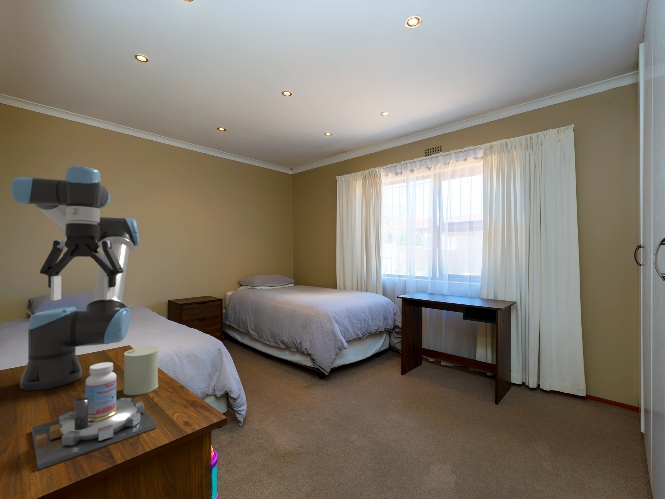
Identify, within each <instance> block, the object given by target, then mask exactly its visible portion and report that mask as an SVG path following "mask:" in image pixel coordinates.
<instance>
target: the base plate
mask: <svg viewBox="0 0 665 499" xmlns="http://www.w3.org/2000/svg"><path fill="white" fill-rule="evenodd" d="M131 402H133V403H138V400H136V398H131ZM149 414H150V413H148V412H147V411H146V410H145V409H144V412H143V413H140V421H139V422H138V423H137V424H136V425H134V426H126V427H124V428H123V429H121V430H119V431H116V432H114V433H113V437H110V438H107V439H104V440H100V441H99V440H98V438H95V439H90V440H83V441H79V442H77V443H76V444H75V445H62V438H61V437H57V438H54V439H51V440H50V426H54V425H57V424H59V419H57V420H54V421H50V422H46V423H43V424H38V425H35V426H32V427H31V435H32V440H33V441H32V442H33V448H34V455H35V459H36V460H35V461H36V467H37V471H39V470H42V469H45V468H47V467H50V466H54V465H55V464H59V463H62V462H64V461H68V460H70V459H73V458H77V457H79V456H81V455H84V454H87V453H90V452H92V451H93V452H94V451H96V450H98V449H100V448H104V447H107V446H109V445H112V444H114V443H119V442H121V441H124V440H126V439H130V438H132V437H135V436H138V435H141V434H143V433H146V432H149V431H152V430H155V429H157V428H158V424H157V422H156V421H155V420H154V418H152V417H151V415H149Z"/></svg>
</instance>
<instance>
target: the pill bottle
mask: <svg viewBox="0 0 665 499" xmlns="http://www.w3.org/2000/svg"><path fill="white" fill-rule="evenodd" d="M113 370H114V363H113V362H109V361H106V362H99V363H95V364H92V365H90V366H89V371H88V373H89V374H90V375H89V376H88V377H87V378H85V385H84V386H85V388H84V390H85V391H84V392H85V394H84V398H88V417H90V418H98V417H102V416H106V415H108V414H110V413H112V412H113V411H114V410H115V409H116V401H117V374H116V373H115V372H114V371H113Z"/></svg>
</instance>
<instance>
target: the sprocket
mask: <svg viewBox="0 0 665 499" xmlns="http://www.w3.org/2000/svg"><path fill="white" fill-rule="evenodd" d="M131 399H132V398H131V397H120V398H119V399H116V409H115V410H114V411H113V412H112V413H110V414H108V415H106V416H102V417H98V418H90V417H88V398H85V397H81V398H78V399H76V400H74V410H73V411H71V410H70V411H67V412H65V413H63V414H61V415H60V416H59V417H58V420H59V424H57V425H54V426H50V440H51V439H54V438H57V437H61V438H62V445H75V444H76V443H77V442H79V441H83V440H90V439H95V438H98V440H99V441H100V440H104V439H107V438H110V437H113V433H114V432H116V431H119V430H121V429H123V428H124V427H126V426H134V425H136V424H137V423H138V422H139V421H140V413H143V412H144V410H145V404H144V402H143V401H139V402H138V401H137V402H138V403H133V402H131Z"/></svg>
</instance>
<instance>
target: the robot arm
mask: <svg viewBox="0 0 665 499" xmlns="http://www.w3.org/2000/svg"><path fill="white" fill-rule="evenodd" d="M101 181H102V180H101V173H100V171H99V170H98V169H95V168H92V167H87V166H79V165H78V166H77V165H73V166H68V167H67V169H66V173H65V179H64V180H63V179H52V178H43V177H33V176H30V177H22V176H19V177H15V178H14V179H13V180H12V182H11V184H10V185H11V186H10V193H11V196H12V198H13V201H15V203H19V204H26V205H34V206H35V207H36V208H38V209H39V210H40V211H41V212H42V213H43V214H45V215H46V216H47V217H48V218H49V219H50V220H52V221H53V222H54V223H55V224H56V225H57V226H58V230H59V231H60V232H61V233H62V234H63V235H64V236H65V237H66V240H61V239H60V240H57V239H56V240H55V239H54V240H53V242H52V247H51V248H52V249H51V250H50V252H49V254H48V256H47V258H46V259H45V260H44V263H43V264H42V267H41V268H40V270H39V273H40V274H41V275H45V276H47V283H48V284H47V286H48V289H50V301H58V300H61V299H62V275H60V273H61V272H62V271H63V270H64V269H65V267H66V266H68V264H70V262H71V261H72V260H73V259H75V258H76V257H77V258H79V257H83V258H85V257H86V258H87V257H90V258H91V259H93V261H95V263H96V264H97V265H98V266H99V271H98V274H97V280H96V286H95V290H94V296H93V300H91V301H90V302H88V304H86V309H85V310H77V307H76V306H66V307H60V308H54V309H53V308H52V309H47V310H44V311H40V312H36V313H34V314H32V315H31V316H30V317H29V320H28V328H27V331H28V332H27V333H28V339H27V340H28V341H27V342H28V344H27V346H28V349H27V351H28V352H27V354H28V355H27V357H28V358H27V363H26V366H25V367H24V370H23V373H22V375H21V378H20V383H19V387H20V390H23V391H43V390H48V389H53V388H57V387H62V386H65V385H67V384H72V383H73V382H75V381H77V380H79V379H81V378H82V375H83V369H82V366H81V363H80V362H79V359H78V357H77V354H76V348H77V347H87V346H99V345H111V344H117V343H120V342H122V341H124V339H125V338H126V336H127V335H128V334H127V333H128V332H129V328H130V323H131V310H130V308H127V304H126V303H125V302H124V301H123V297H124V290H125V282H126V277H127V276H126V274H127V269H128V268H127V267H128V261H129V254H130V253H132V252H133V251H134V248H135V247H137V246H140V238H139V237H140V236H139V228H138V223H137V221H136V219H134V218H129V217H124V216H123V217H110V216H109V217H105V216H101V215H100V214H101V212H100V211H101V209H102V208H104V207H106V206H107V205H109V203H110V202H111V195H110V192H109V190H108V189H107V187H106V186H104V185H103V184H101ZM65 248H67V250H65V252H64V253H63V251H64V249H65ZM99 248H100V249H101V250H102V253H101V251H99ZM62 253H63V254H62ZM60 256H61V257H60Z"/></svg>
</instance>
